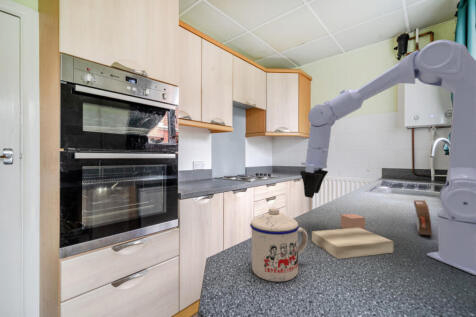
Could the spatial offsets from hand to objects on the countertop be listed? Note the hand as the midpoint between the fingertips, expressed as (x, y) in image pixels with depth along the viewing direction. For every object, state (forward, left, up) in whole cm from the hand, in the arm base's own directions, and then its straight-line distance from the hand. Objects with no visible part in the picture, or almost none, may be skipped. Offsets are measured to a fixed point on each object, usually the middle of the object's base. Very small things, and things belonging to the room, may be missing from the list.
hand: (311, 194), depth 63 cm
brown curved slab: (-7, -30, -11) cm, 33 cm away
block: (-1, -12, -11) cm, 16 cm away
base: (-12, -2, -11) cm, 16 cm away
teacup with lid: (-18, +18, -11) cm, 28 cm away
